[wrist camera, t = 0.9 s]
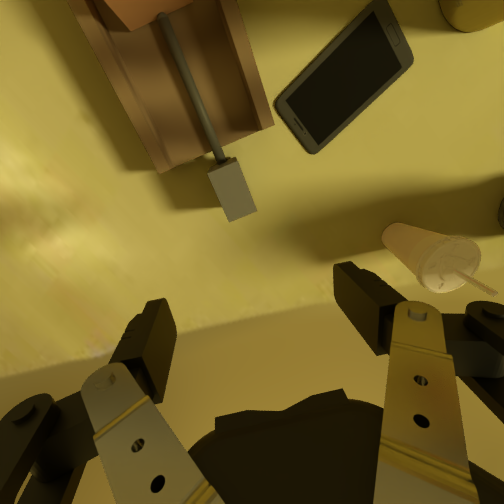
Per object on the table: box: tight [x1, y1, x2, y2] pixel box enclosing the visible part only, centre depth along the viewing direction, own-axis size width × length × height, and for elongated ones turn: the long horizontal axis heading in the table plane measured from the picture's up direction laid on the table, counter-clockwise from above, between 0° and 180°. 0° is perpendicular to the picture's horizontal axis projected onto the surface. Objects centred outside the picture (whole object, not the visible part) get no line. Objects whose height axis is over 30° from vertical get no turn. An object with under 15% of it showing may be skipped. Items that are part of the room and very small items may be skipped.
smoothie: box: [382, 223, 498, 297], centre depth 28 cm, size 6×6×14 cm
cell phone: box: [275, 0, 414, 154], centre depth 27 cm, size 7×14×1 cm, turn 132°
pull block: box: [104, 0, 257, 222], centre depth 22 cm, size 25×6×7 cm, turn 21°
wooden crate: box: [67, 0, 275, 174], centre depth 22 cm, size 20×12×4 cm, turn 21°
